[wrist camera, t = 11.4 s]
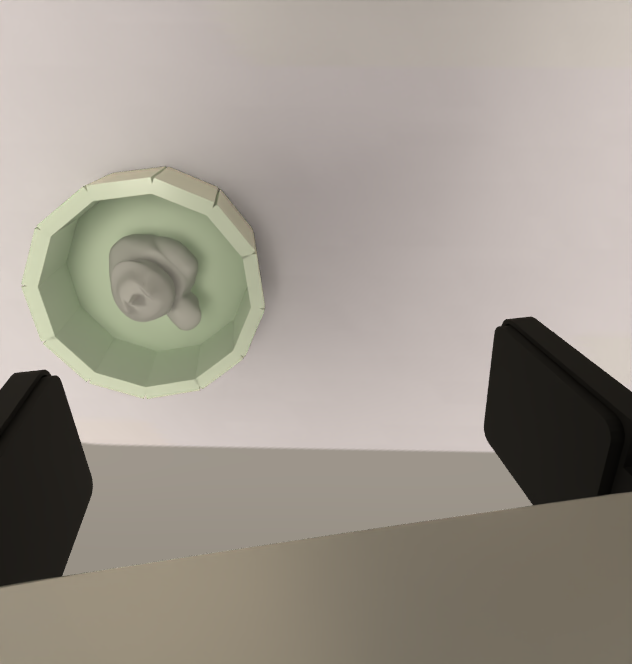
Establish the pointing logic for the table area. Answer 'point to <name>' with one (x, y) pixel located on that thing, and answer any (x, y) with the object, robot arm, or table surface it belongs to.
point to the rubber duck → (154, 279)
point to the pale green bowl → (95, 287)
